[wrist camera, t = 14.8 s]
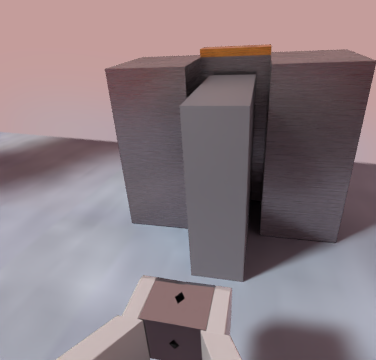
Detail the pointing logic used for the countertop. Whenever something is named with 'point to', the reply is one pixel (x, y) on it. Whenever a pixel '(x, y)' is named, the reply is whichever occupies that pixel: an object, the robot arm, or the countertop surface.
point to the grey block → (218, 173)
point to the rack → (262, 132)
